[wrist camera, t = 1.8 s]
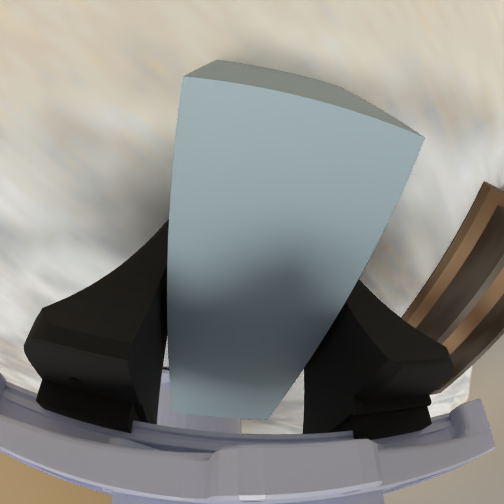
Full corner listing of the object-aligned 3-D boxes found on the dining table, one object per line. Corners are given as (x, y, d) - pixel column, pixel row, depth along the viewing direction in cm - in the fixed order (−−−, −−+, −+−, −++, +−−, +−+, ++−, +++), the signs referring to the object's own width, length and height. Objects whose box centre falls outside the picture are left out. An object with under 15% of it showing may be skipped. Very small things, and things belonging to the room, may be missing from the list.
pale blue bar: (262, 322, 17) (267, 419, 13) (185, 313, 17) (172, 411, 12) (339, 86, 9) (424, 137, 5) (216, 59, 9) (182, 76, 4)
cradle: (436, 372, 24) (444, 394, 22) (350, 378, 22) (356, 406, 20) (554, 221, 13) (575, 244, 11) (484, 181, 11) (514, 209, 9)
